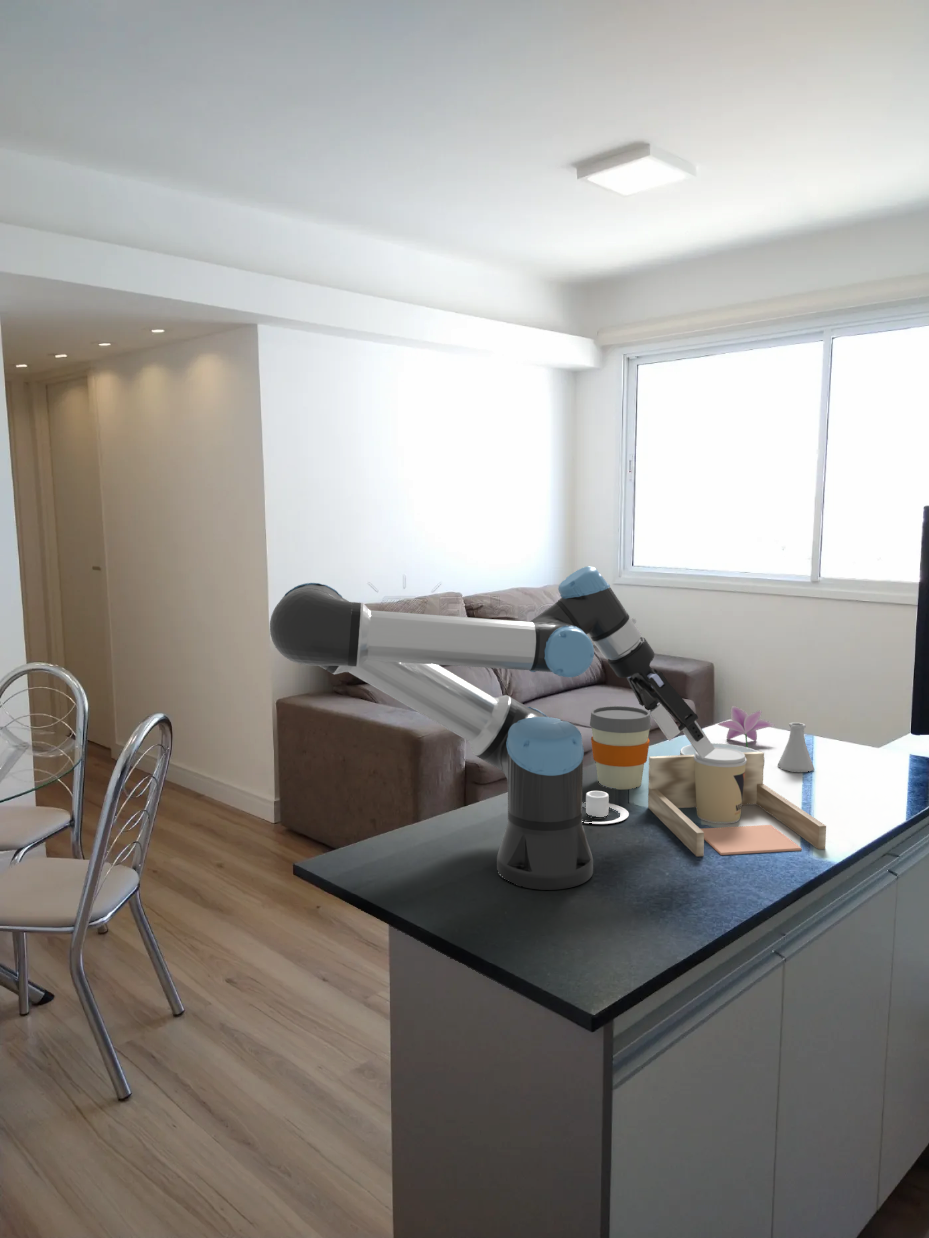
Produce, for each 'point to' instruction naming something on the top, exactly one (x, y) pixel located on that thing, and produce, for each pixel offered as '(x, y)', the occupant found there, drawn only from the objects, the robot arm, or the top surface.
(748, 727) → the lily
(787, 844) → the front mat
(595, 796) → the candle holder
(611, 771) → the reusable coffee cup
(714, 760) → the coffee cup
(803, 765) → the flask
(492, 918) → the top surface
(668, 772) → the bay
